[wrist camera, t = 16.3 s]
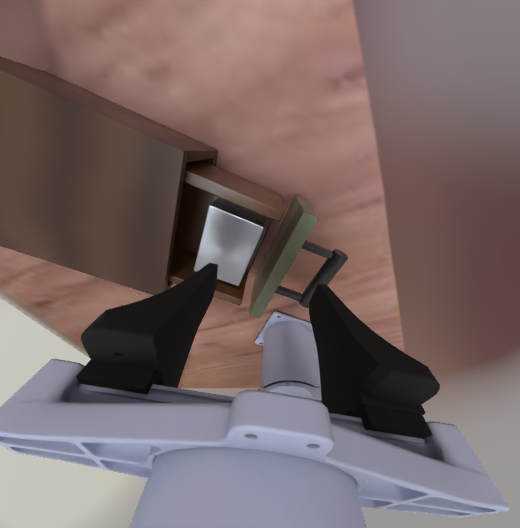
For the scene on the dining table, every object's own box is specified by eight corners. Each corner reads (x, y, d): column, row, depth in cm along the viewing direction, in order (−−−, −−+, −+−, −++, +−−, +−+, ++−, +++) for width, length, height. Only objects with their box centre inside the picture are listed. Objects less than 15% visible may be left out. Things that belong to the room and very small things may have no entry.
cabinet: (218, 150, 17) (184, 150, 11) (193, 257, 23) (162, 298, 17) (45, 71, 15) (-125, 14, 8) (69, 213, 21) (-17, 240, 15)
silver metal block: (222, 193, 17) (209, 205, 14) (266, 212, 18) (264, 227, 14) (206, 250, 20) (193, 270, 17) (244, 264, 21) (238, 286, 17)
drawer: (349, 217, 18) (375, 242, 14) (296, 295, 24) (301, 331, 19) (167, 136, 16) (120, 131, 11) (156, 245, 22) (122, 272, 17)
